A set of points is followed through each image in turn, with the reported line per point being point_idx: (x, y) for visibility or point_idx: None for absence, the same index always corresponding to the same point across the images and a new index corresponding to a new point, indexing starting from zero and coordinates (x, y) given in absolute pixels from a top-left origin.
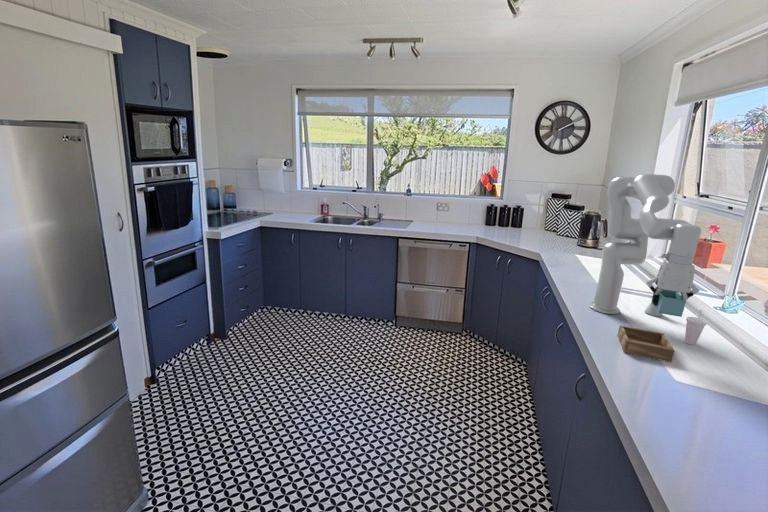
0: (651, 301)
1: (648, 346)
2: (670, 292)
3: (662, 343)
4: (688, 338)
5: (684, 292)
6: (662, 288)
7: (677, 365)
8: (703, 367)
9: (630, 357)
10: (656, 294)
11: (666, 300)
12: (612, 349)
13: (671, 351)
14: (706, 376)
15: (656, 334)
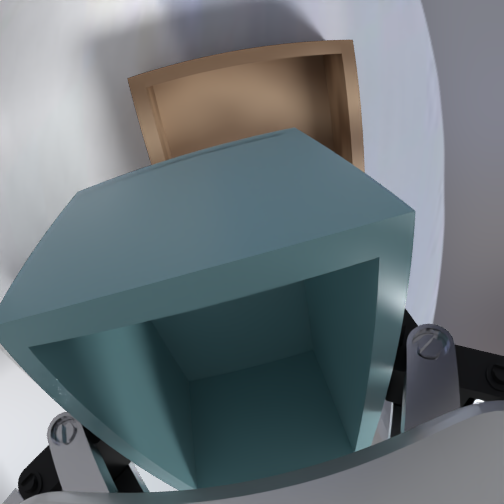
0: None
1: (250, 49)
2: (236, 473)
3: None
4: None
5: (56, 501)
6: (476, 425)
7: (117, 64)
8: (36, 134)
9: (300, 9)
10: (416, 339)
11: (308, 205)
12: (365, 48)
13: (141, 74)
14: (28, 56)
15: None
